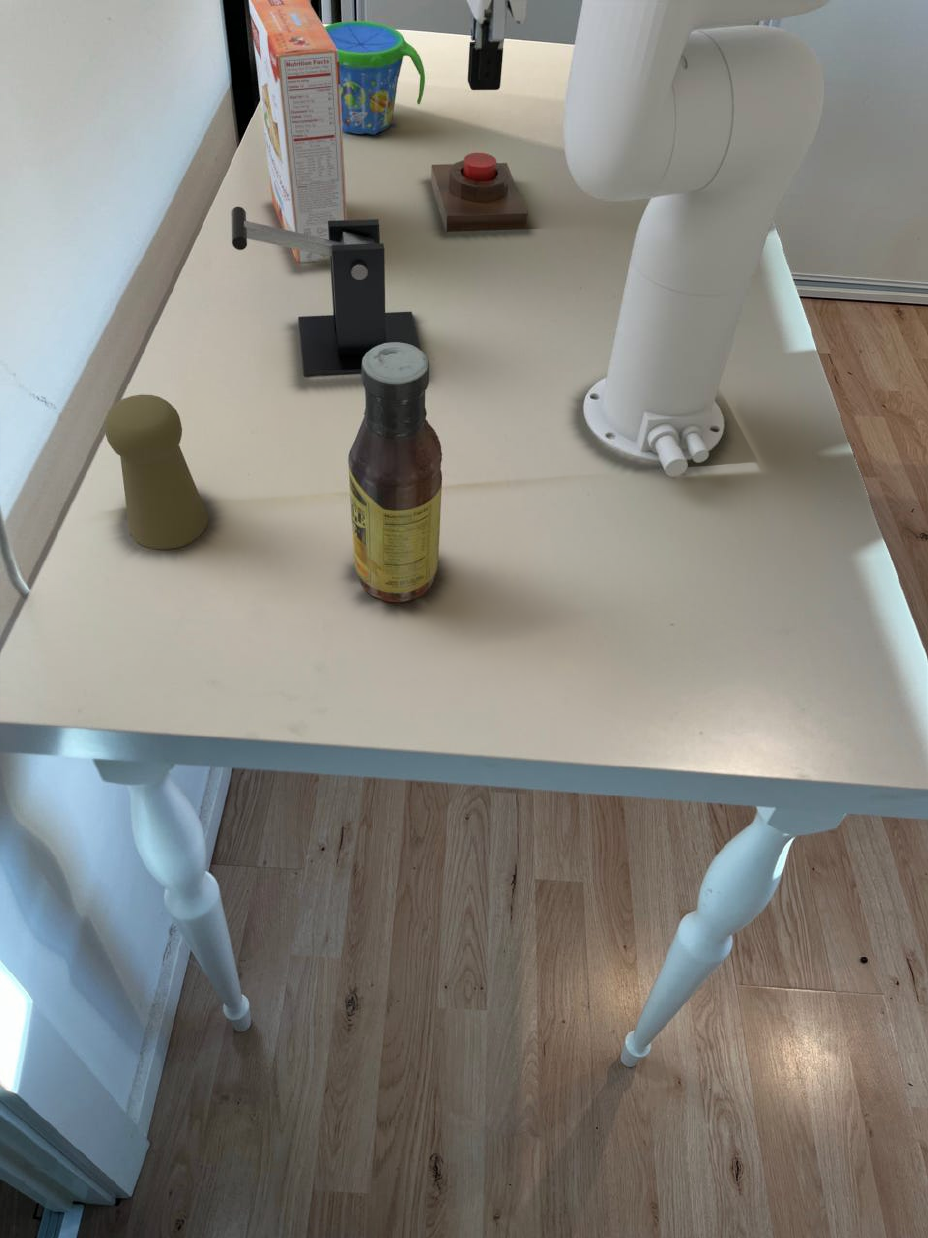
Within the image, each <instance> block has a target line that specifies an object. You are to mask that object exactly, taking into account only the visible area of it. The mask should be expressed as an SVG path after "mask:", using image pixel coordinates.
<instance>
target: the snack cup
mask: <svg viewBox="0 0 928 1238" xmlns="http://www.w3.org/2000/svg"><path fill="white" fill-rule="evenodd" d="M324 28H325V29H326V31H327V33H328V34H329V36H330V38H331V39H332V41H333V43H334V44H335V46H336V48H337V50H338V53H339V72H340V91H341V113H342V132H344V133H349V134H350V133H351V134H356V135H362V134H363V135H364V134H368V135H374V136H375V135H377V134H378V133H380V132H384V131H385V130H387V129H388V128H389V127H391V125H392V122H393V120H394V119H393V118H394V111H395V104H396V97H397V88H398V83H399V77H400V74H401V69H402V65H403V60H404V57H409V58H410V59H411V61H412V63H413V65H414V67H415V69H416V71H417V73H418V75H419V76H420V77H419V89H418V98H417V101H416V103H417V104H418V105H421V103H422V99H423V95H424V90H425V84H426V73H425V68H424V64H423V61H422V58H421V56H420V54H419V53H418V51H417V50H416V49H415V48H414V47H413V46H412V45H411V44H410V43H408V42H406V40H405V38H404V35H403V34H402V33H401V32H400V31H398V30H397V29H395V28H393V27H391V26H388V25H386V24H381V23H378V22H372V21H364V20H349V21H348V20H347V21H340V22H335V23H331V24H327V25H326V26H324Z"/></svg>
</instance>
